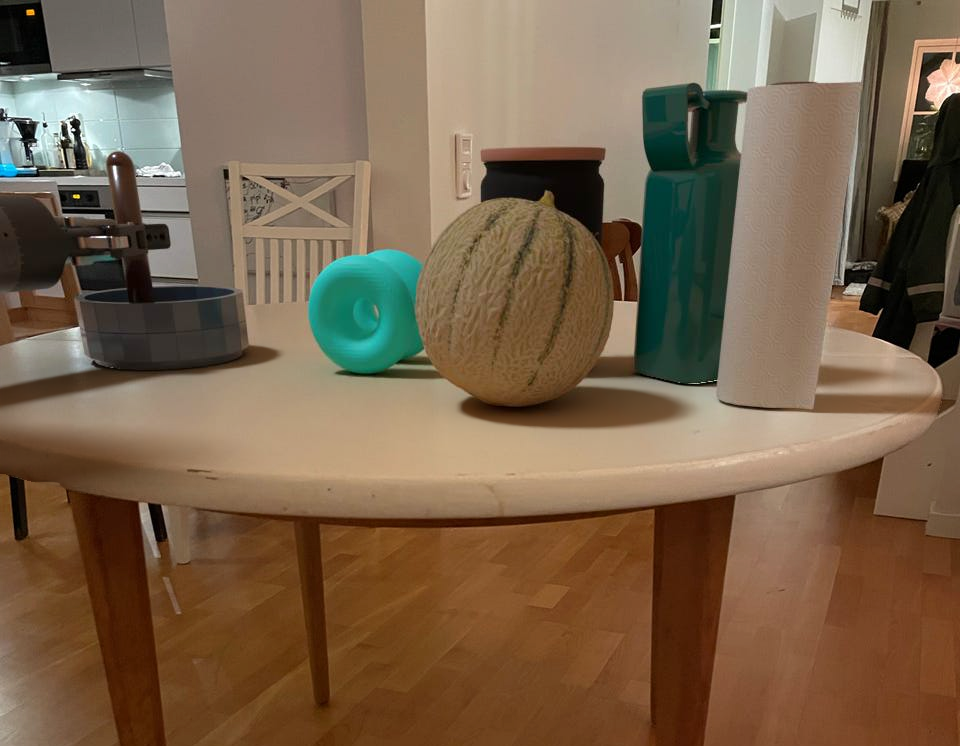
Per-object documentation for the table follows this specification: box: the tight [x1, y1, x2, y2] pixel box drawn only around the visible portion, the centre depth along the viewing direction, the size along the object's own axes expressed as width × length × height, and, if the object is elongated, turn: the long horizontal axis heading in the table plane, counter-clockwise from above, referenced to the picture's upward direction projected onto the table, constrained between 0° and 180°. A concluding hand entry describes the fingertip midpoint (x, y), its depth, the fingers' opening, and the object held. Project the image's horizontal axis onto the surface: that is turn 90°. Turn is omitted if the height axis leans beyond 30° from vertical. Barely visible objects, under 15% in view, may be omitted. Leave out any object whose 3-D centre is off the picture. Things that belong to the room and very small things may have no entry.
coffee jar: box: [480, 146, 607, 248], centre depth 82 cm, size 11×11×18 cm
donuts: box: [307, 249, 425, 375], centre depth 84 cm, size 10×10×10 cm
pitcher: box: [632, 82, 748, 383], centre depth 77 cm, size 10×8×22 cm
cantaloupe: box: [415, 190, 615, 408], centre depth 68 cm, size 15×15×15 cm
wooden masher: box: [105, 150, 155, 303], centre depth 88 cm, size 6×6×17 cm
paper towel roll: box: [715, 81, 864, 410], centre depth 67 cm, size 7×6×21 cm
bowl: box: [73, 285, 250, 371], centre depth 91 cm, size 16×16×6 cm
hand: (156, 235), depth 89 cm, fingers closed on wooden masher, 2 cm apart
